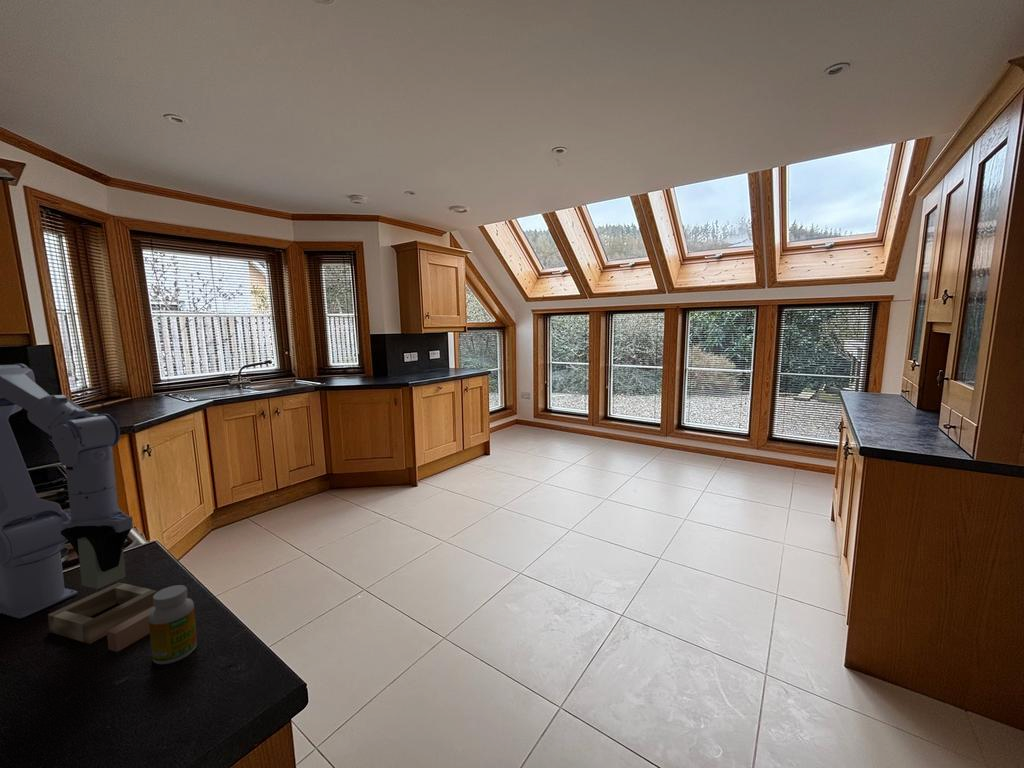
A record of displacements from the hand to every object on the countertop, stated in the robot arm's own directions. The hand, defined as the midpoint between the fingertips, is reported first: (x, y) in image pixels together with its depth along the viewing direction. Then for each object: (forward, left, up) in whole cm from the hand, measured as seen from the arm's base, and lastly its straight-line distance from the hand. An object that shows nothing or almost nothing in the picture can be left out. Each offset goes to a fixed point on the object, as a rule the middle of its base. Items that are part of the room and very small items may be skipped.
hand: (101, 566), depth 73 cm
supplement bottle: (+20, -2, -10) cm, 22 cm away
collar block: (0, 0, -9) cm, 9 cm away
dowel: (0, 0, -3) cm, 3 cm away
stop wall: (+10, 0, -9) cm, 14 cm away
